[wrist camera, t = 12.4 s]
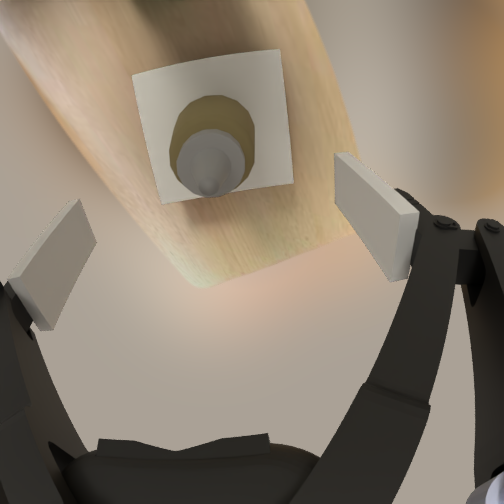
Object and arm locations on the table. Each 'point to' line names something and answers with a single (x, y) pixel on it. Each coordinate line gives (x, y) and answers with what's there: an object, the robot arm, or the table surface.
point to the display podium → (227, 84)
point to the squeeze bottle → (212, 146)
